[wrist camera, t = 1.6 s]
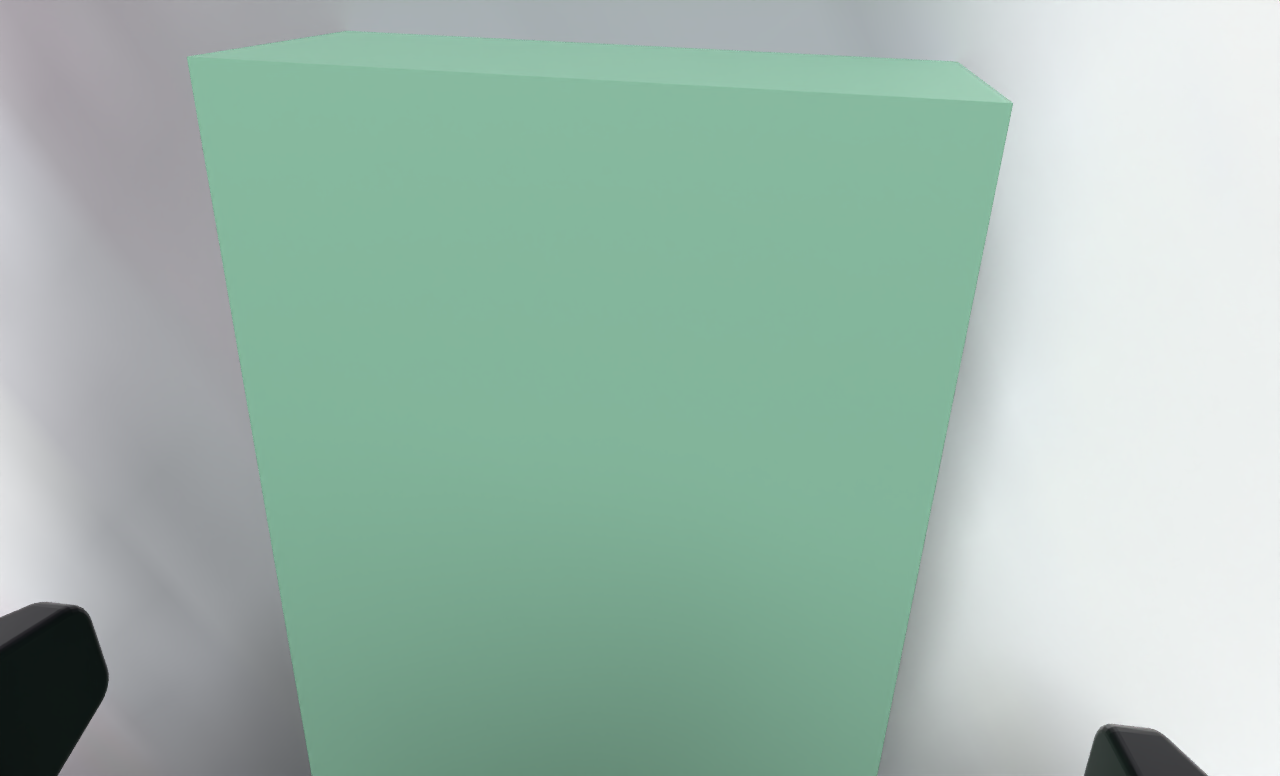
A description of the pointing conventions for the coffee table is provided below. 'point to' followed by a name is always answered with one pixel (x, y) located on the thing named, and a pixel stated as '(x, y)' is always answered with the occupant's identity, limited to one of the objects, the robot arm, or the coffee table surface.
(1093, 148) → the coffee table surface
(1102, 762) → the robot arm
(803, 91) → the mint green rectangular block
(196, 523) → the coffee table surface
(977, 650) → the coffee table surface
